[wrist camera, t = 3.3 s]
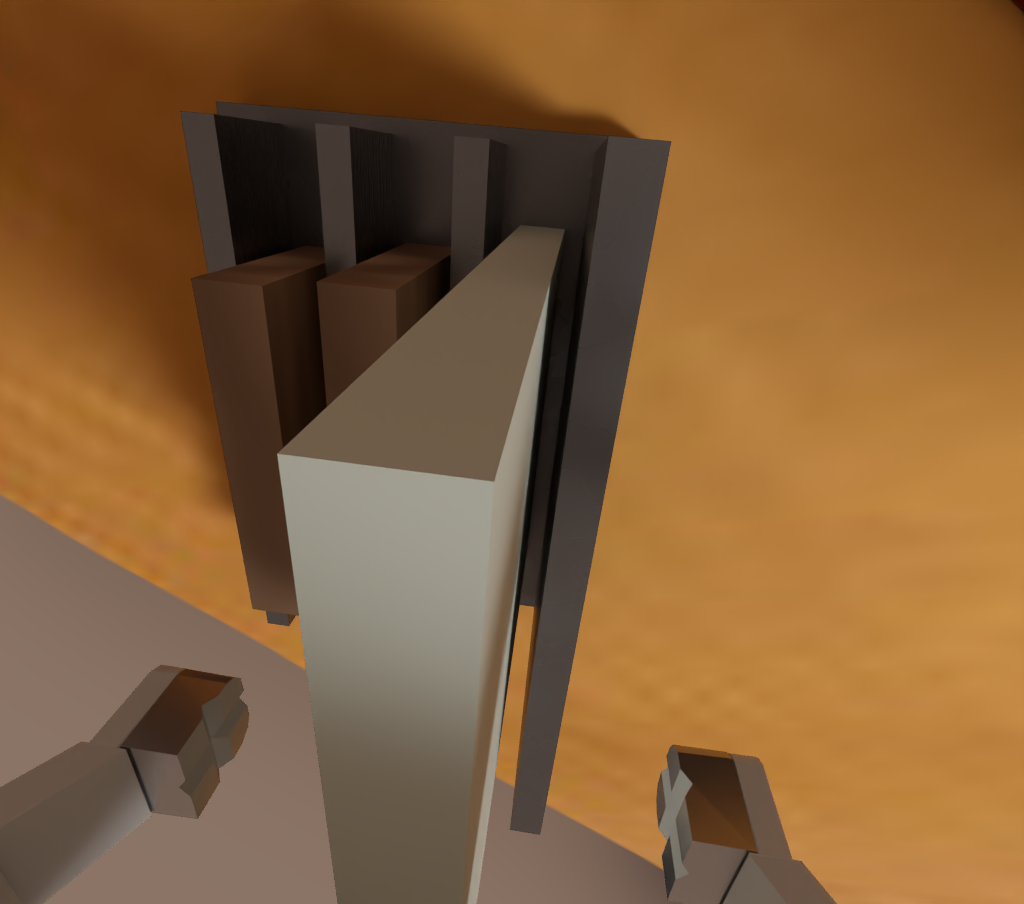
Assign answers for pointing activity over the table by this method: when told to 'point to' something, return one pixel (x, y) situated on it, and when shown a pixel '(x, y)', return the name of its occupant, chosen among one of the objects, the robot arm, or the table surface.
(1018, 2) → the smartphone
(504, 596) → the white thin panel
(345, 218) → the rack
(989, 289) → the table surface
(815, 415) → the table surface
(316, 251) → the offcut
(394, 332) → the block
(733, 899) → the robot arm
